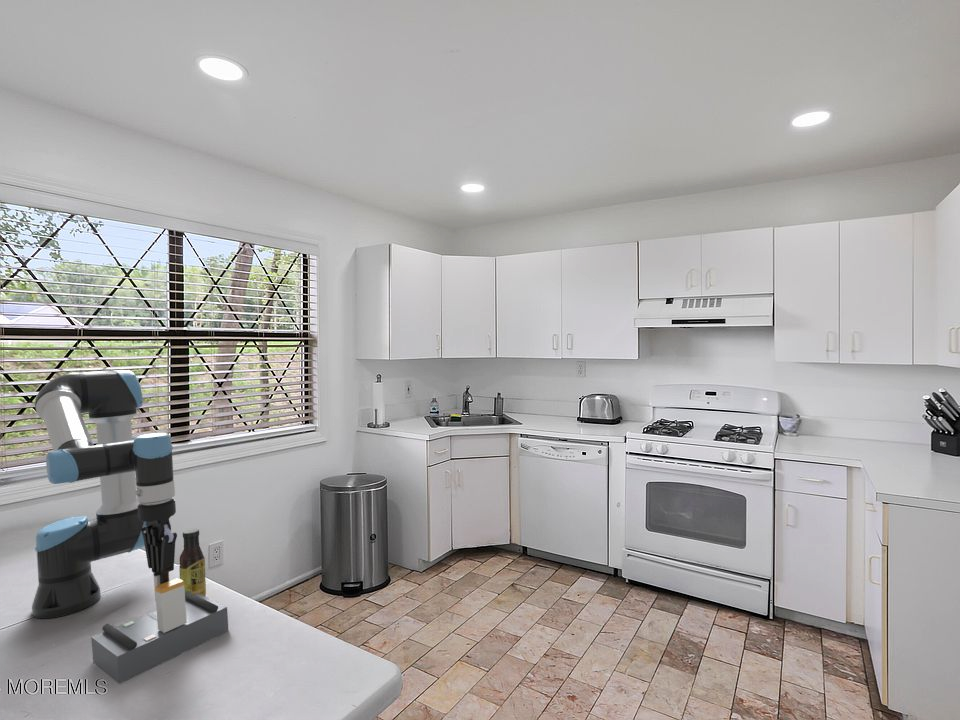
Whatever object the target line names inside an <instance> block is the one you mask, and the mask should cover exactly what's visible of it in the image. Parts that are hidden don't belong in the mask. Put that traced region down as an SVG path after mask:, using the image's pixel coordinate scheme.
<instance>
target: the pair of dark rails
mask: <svg viewBox="0 0 960 720" xmlns="http://www.w3.org/2000/svg"><path fill="white" fill-rule="evenodd" d="M185 598H186V599H188V600H190V601H192V602H194V603H196V604H198V605H199V606H201V607H203V608H205V609H207V610H209V611H211V612H213V613H214V612H216V611H217V610H218V606H217V605H215V604H213V603H211V602H209V601H207V600H204V599H202V598H200V597H198V596H196V595H194V594H192V593H190V592H188V591H187V592H185ZM115 627H116V626H113V625H111V624H110V623H104V625H103V626H102V627H101V629H102V631H103V632H106V633H107V634H109V635H110V636H112V637H113V638H114V639H116V640H117V641H119V642H120V643H121V644H123V645H124V646H126V647H127V648H128V649H130V650H133V649H134V648H135V647H136V646H137V643H136V642H135V641H134V640H132V639H131V638H129V637H128V636H126V635H125V634H123V633H122V632H120V631H119V630H117V629H116V628H115Z"/></svg>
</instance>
